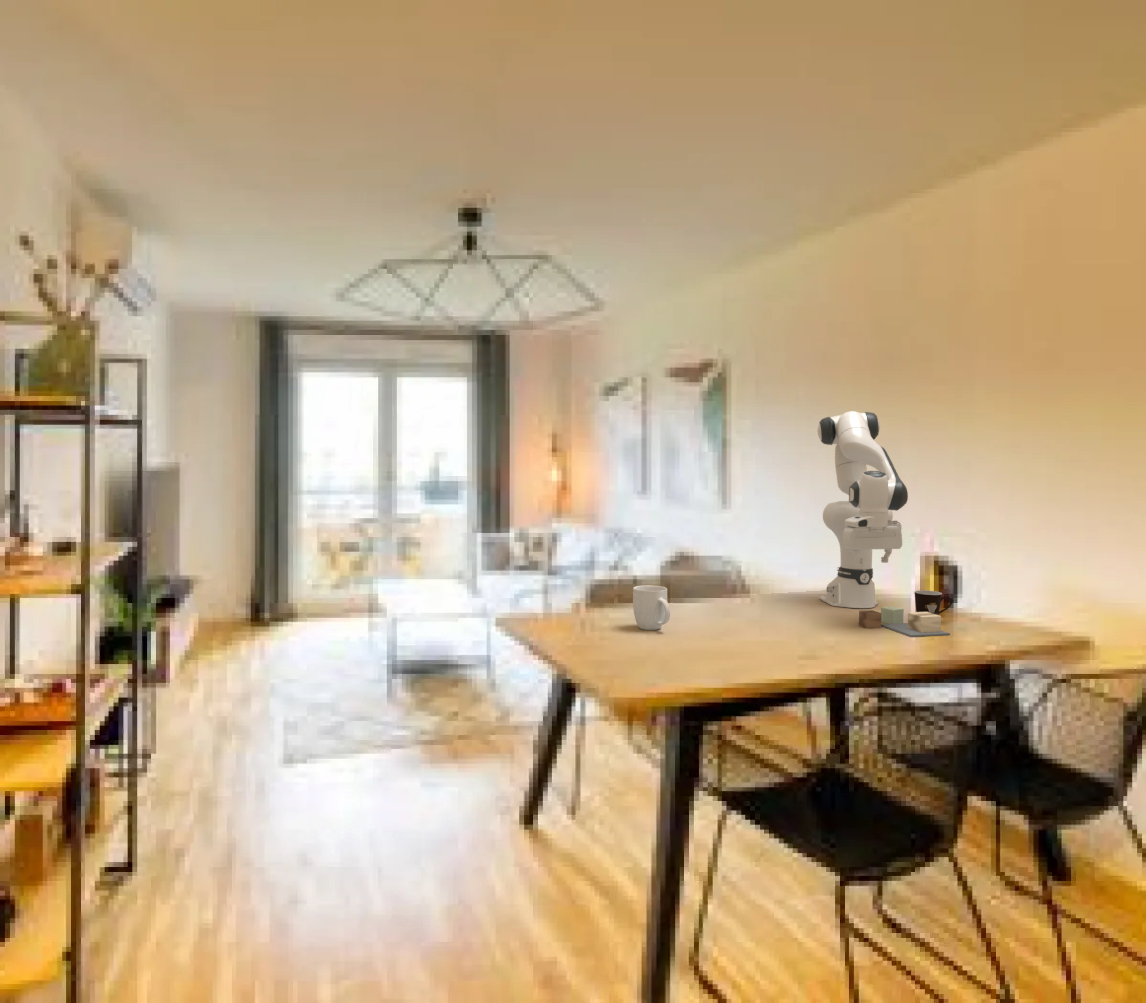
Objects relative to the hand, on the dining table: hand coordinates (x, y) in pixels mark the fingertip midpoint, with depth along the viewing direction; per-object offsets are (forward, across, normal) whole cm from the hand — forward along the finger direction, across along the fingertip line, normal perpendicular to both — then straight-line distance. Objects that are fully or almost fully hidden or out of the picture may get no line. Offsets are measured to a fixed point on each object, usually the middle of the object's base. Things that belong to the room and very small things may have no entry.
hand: (871, 562), depth 270 cm
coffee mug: (+21, -25, -2) cm, 33 cm away
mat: (+21, -11, +8) cm, 25 cm away
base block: (+20, -13, +10) cm, 26 cm away
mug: (+21, +72, -11) cm, 76 cm away
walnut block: (+21, 0, 0) cm, 21 cm away
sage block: (+21, -11, -4) cm, 24 cm away
